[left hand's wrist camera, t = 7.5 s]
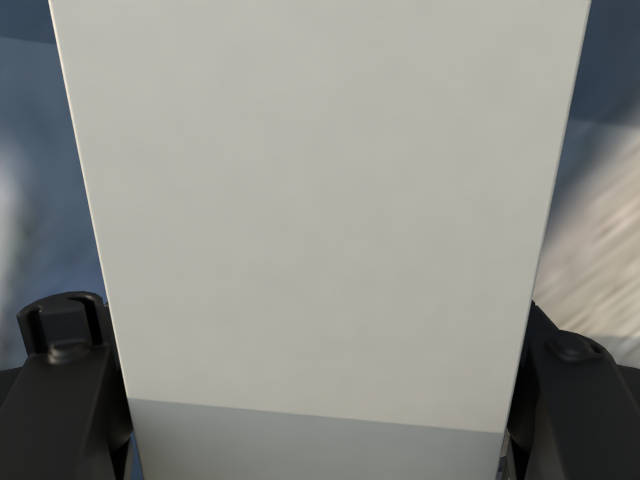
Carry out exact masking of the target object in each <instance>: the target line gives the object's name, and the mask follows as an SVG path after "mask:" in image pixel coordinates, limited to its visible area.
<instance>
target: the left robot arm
mask: <svg viewBox="0 0 640 480" xmlns="http://www.w3.org/2000/svg"><path fill="white" fill-rule="evenodd" d="M16 316H17V320H18V323H19V327H20V330H21V334H22V337H23V341H24V344H25V348H26V351H27V354H28V358H27V360H26V362H25V363H24V365H23V367H19V368H14V369H9V370H4V371H0V480H130V478H131V470H132V463H133V448H132V442H131V438H130V434H131V432H132V430H133V424H132V419H131V414H130V409H129V404H128V399H127V394H126V389H125V384H124V379H123V374H122V369H121V364H120V359H119V354H118V349H117V344H116V339H115V334H114V329H113V324H112V319H111V314H110V308H109V303H108V302H107V303H106V304H105V307H104V305H103V300H102V297H100V296H99V295H97V294H96V293H91V292H85V291H78V292H66V293H61V294H55V295H52V296H49V297H46V298H43V299H40V300H37V301H35V302H33V303H32V304H30V305H28V306H26V307H24V308H23V309H22V310H21V311H20V312H19V313H18V314H17V315H16ZM507 429H508V431H509V433H510V438H509V442H508V447H507V452H506V457H505V462H504V467H503V472H502V478H501V480H508V477H510V480H640V369H637V368H631V367H626V366H621V365H617V364H616V363H615V361H614V359H613V357H612V356H611V354H610V353H609V352H608V351H607V350H606V349H605V348H604V347H603V346H601V345H600V344H598V343H597V342H595V341H594V340H592V339H590V338H587V337H585V336H582V335H580V334H577V333H573V332H568V331H564V330H559V329H558V328H557V327H556V325H555V324H554V323H553V322H552V321H551V320H550V319H549V318H548V317H547V316H546V314H545V313H544V312H543V311H542V310H541V309H540V308H539V307H538V306H537V305H535V302H534V301H533V300H532V301H531V306H530V311H529V316H528V321H527V326H526V331H525V336H524V341H523V346H522V351H521V356H520V361H519V366H518V371H517V377H516V382H515V387H514V392H513V397H512V402H511V407H510V412H509V417H508V422H507Z"/></svg>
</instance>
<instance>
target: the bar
mask: <svg viewBox="0 0 640 480" xmlns="http://www.w3.org/2000/svg"><path fill="white" fill-rule="evenodd" d="M48 1H49V6H50V11H51V16H52V21H53V26H54V31H55V36H56V41H57V47H58V52H59V57H60V62H61V67H62V72H63V77H64V82H65V87H66V92H67V97H68V102H69V107H70V112H71V117H72V122H73V127H74V132H75V137H76V142H77V147H78V152H79V157H80V162H81V167H82V172H83V177H84V183H85V188H86V193H87V198H88V203H89V208H90V213H91V218H92V223H93V228H94V233H95V238H96V243H97V248H98V253H99V258H100V263H101V268H102V273H103V278H104V283H105V288H106V293H107V298H108V303H109V308H110V314H111V319H112V324H113V329H114V334H115V339H116V344H117V349H118V354H119V359H120V364H121V369H122V374H123V379H124V384H125V389H126V394H127V399H128V404H129V409H130V414H131V419H132V424H133V429H134V434H135V439H136V444H137V450H138V455H139V460H140V465H141V470H142V475H143V480H496V477H497V472H498V467H499V462H500V457H501V452H502V447H503V442H504V437H505V432H506V427H507V422H508V417H509V412H510V407H511V402H512V397H513V392H514V387H515V382H516V377H517V371H518V366H519V361H520V356H521V351H522V346H523V341H524V336H525V331H526V326H527V321H528V316H529V311H530V306H531V301H532V296H533V291H534V286H535V281H536V276H537V271H538V266H539V261H540V256H541V251H542V246H543V241H544V236H545V231H546V226H547V221H548V216H549V211H550V206H551V201H552V196H553V191H554V186H555V181H556V176H557V171H558V166H559V161H560V156H561V151H562V146H563V141H564V136H565V131H566V126H567V121H568V115H569V110H570V105H571V100H572V95H573V90H574V85H575V80H576V75H577V70H578V65H579V60H580V55H581V50H582V45H583V40H584V35H585V30H586V25H587V20H588V15H589V10H590V5H591V0H48Z"/></svg>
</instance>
